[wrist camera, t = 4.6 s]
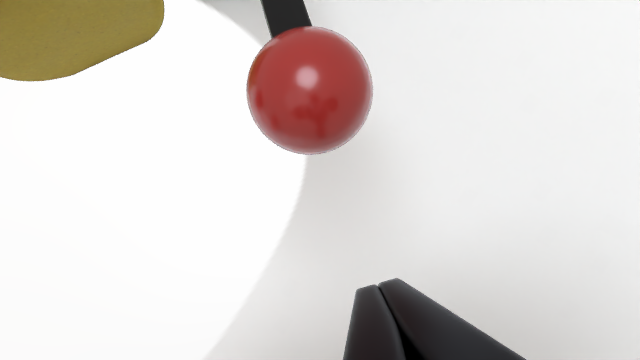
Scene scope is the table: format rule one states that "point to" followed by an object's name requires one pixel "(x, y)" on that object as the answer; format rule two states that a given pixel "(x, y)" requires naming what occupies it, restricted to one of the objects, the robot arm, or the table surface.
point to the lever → (307, 83)
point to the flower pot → (70, 34)
